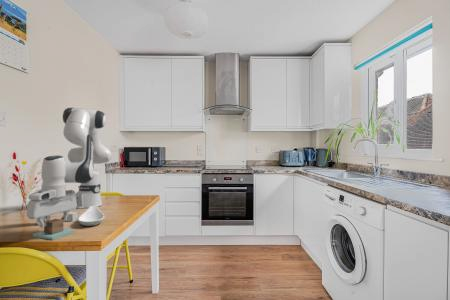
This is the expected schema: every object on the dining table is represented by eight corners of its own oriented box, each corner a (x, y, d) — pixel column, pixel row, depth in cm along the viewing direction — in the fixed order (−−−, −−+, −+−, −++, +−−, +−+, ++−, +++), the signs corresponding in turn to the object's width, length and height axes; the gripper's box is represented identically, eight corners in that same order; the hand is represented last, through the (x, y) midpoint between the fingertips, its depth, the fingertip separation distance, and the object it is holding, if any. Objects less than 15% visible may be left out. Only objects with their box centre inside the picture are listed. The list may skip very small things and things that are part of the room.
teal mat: (32, 236, 108) (32, 234, 108) (55, 229, 118) (55, 227, 118) (52, 239, 104) (52, 237, 104) (74, 232, 114) (74, 230, 114)
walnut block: (44, 233, 110) (44, 221, 110) (55, 229, 114) (55, 218, 114) (52, 234, 108) (52, 222, 108) (63, 231, 113) (63, 219, 113)
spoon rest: (104, 226, 123) (104, 212, 123) (76, 230, 118) (76, 214, 118) (105, 215, 144) (105, 202, 144) (81, 217, 140) (81, 204, 140)
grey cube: (65, 221, 131) (65, 213, 131) (70, 219, 135) (70, 212, 135) (72, 221, 131) (72, 214, 131) (77, 219, 135) (77, 212, 135)
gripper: (70, 188, 122) (70, 217, 122) (24, 196, 103) (24, 230, 103) (79, 189, 120) (80, 218, 120) (34, 197, 100) (34, 231, 100)
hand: (53, 224), depth 111 cm, fingers open, 8 cm apart
